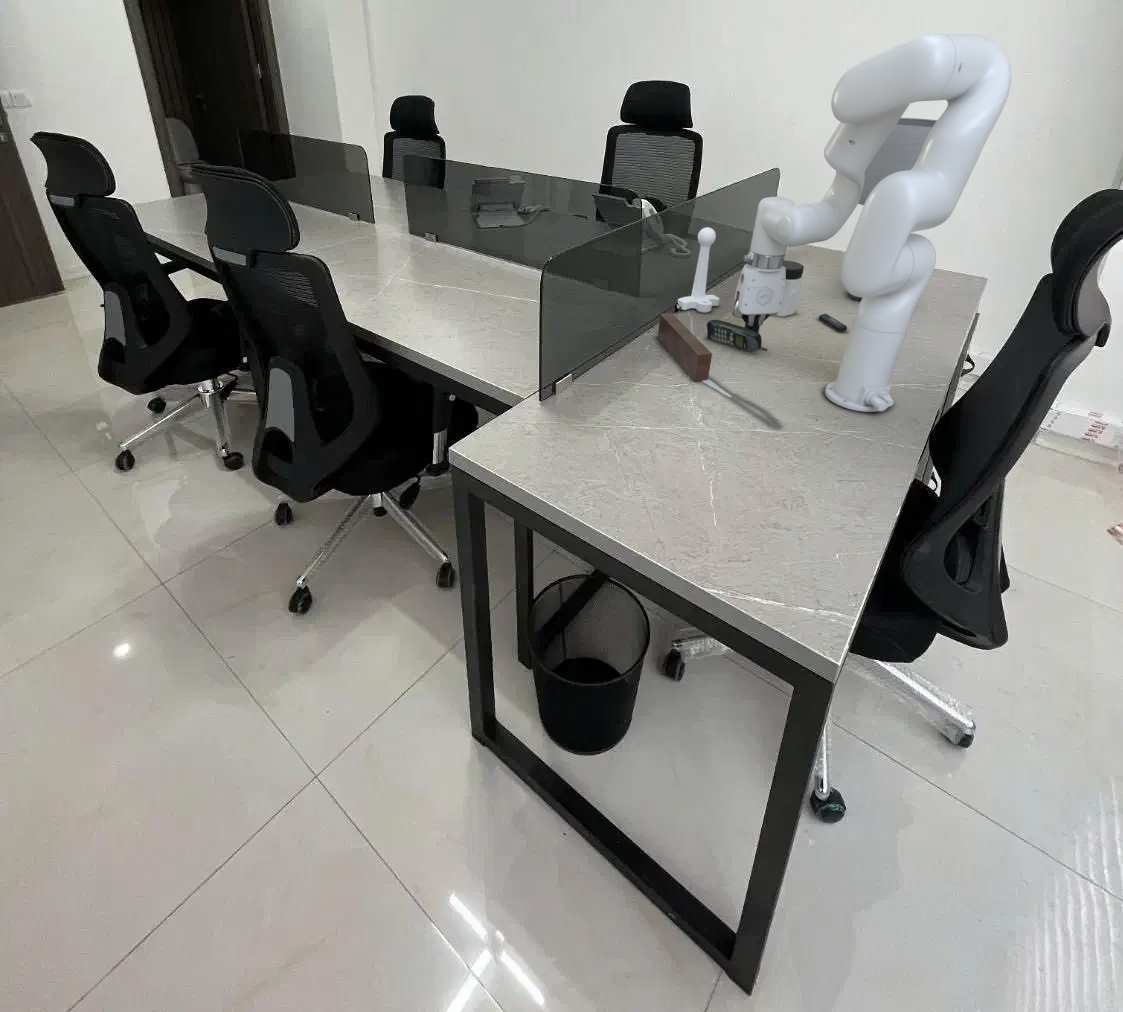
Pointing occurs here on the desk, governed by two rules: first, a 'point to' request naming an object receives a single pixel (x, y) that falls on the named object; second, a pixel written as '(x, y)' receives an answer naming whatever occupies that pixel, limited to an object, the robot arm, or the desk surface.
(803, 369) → the desk surface
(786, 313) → the jar
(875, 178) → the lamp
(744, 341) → the mobile phone
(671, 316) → the wooden block
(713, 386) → the butter knife
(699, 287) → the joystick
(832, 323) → the usb stick
